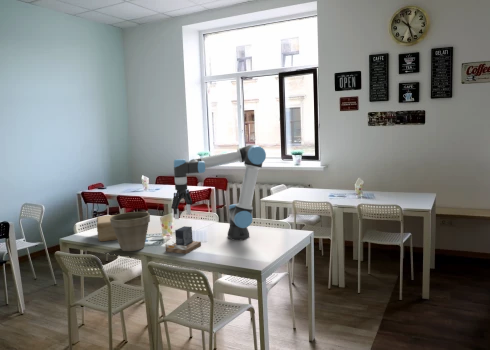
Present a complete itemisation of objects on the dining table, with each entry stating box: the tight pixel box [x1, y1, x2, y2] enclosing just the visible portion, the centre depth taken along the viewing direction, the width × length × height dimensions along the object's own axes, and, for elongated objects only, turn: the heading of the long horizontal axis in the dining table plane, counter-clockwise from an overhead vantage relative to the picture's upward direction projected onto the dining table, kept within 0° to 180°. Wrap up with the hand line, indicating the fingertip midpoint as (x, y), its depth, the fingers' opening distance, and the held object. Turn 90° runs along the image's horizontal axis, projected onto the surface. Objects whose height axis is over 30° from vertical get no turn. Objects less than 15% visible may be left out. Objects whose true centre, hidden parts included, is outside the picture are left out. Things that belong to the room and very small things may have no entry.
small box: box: [174, 226, 194, 246], centre depth 265 cm, size 11×6×10 cm, turn 155°
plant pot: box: [110, 211, 151, 252], centre depth 268 cm, size 25×25×22 cm
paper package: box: [96, 214, 118, 242], centre depth 301 cm, size 27×26×14 cm
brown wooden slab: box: [164, 240, 202, 255], centre depth 264 cm, size 15×18×4 cm
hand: (182, 216), depth 263 cm, fingers open, 13 cm apart
